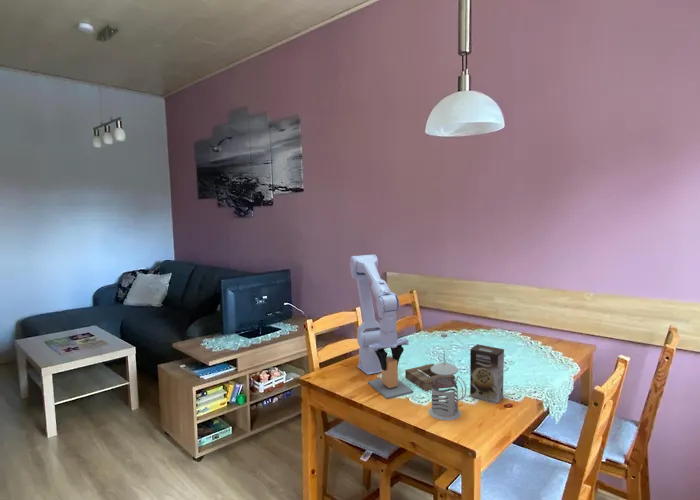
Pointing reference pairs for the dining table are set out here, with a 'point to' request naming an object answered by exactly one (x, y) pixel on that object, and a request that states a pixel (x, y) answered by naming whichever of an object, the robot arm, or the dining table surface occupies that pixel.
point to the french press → (445, 391)
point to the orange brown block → (390, 373)
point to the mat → (390, 389)
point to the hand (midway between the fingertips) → (389, 368)
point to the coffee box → (486, 373)
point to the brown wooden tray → (423, 376)
